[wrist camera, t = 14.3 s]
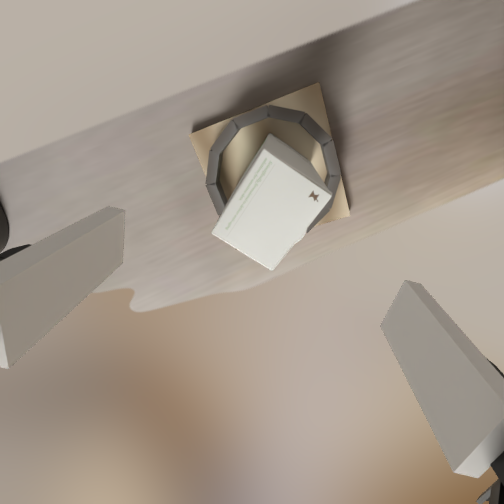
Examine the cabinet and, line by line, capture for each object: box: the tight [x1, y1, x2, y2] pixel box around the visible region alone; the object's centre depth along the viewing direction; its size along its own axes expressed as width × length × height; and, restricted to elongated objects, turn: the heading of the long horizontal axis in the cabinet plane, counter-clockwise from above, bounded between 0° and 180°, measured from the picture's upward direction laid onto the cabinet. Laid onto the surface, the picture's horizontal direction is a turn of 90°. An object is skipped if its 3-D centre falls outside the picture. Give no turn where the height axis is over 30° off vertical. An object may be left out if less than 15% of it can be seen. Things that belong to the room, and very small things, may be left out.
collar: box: [189, 82, 350, 250], centre depth 36 cm, size 16×16×4 cm
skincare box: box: [212, 133, 332, 271], centre depth 29 cm, size 8×7×16 cm
